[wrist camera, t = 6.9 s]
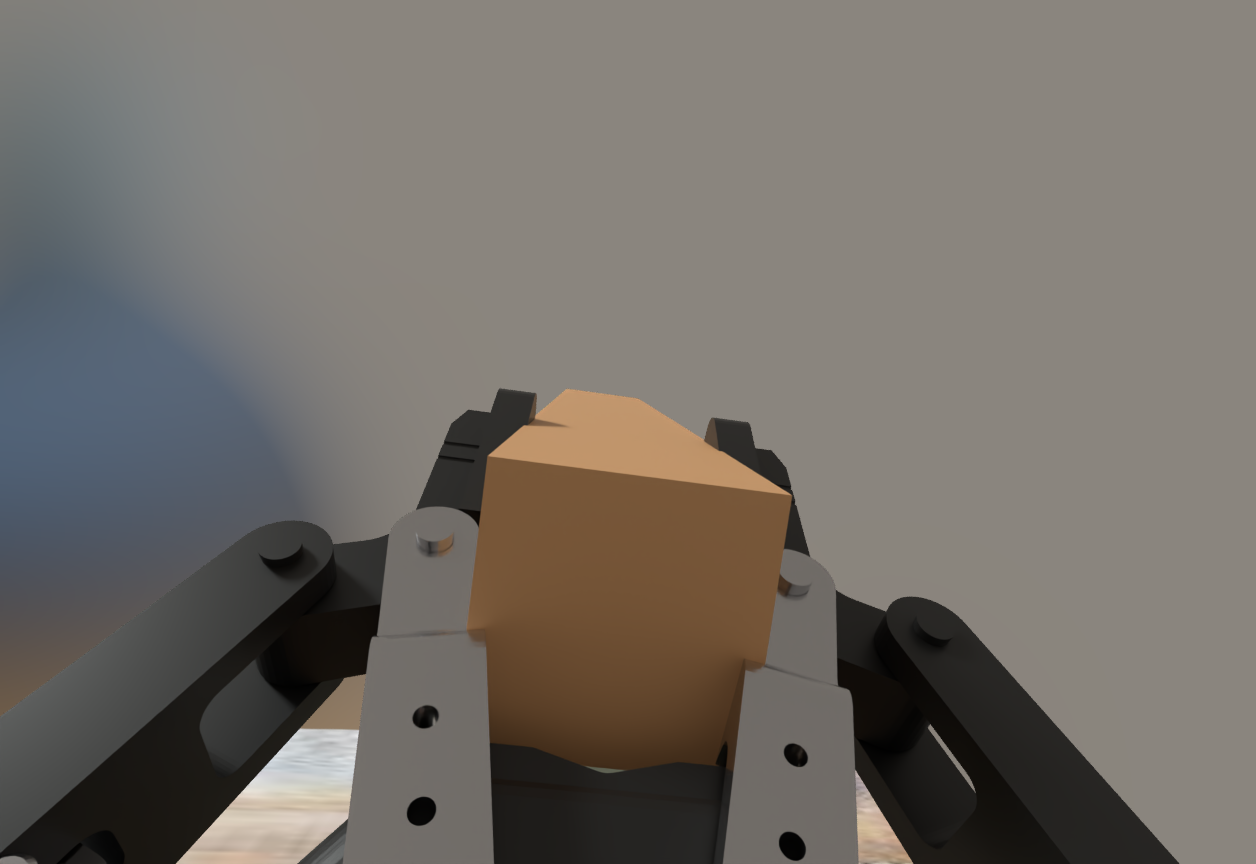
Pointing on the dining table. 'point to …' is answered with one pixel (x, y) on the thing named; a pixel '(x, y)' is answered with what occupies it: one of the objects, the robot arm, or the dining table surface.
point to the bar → (621, 584)
